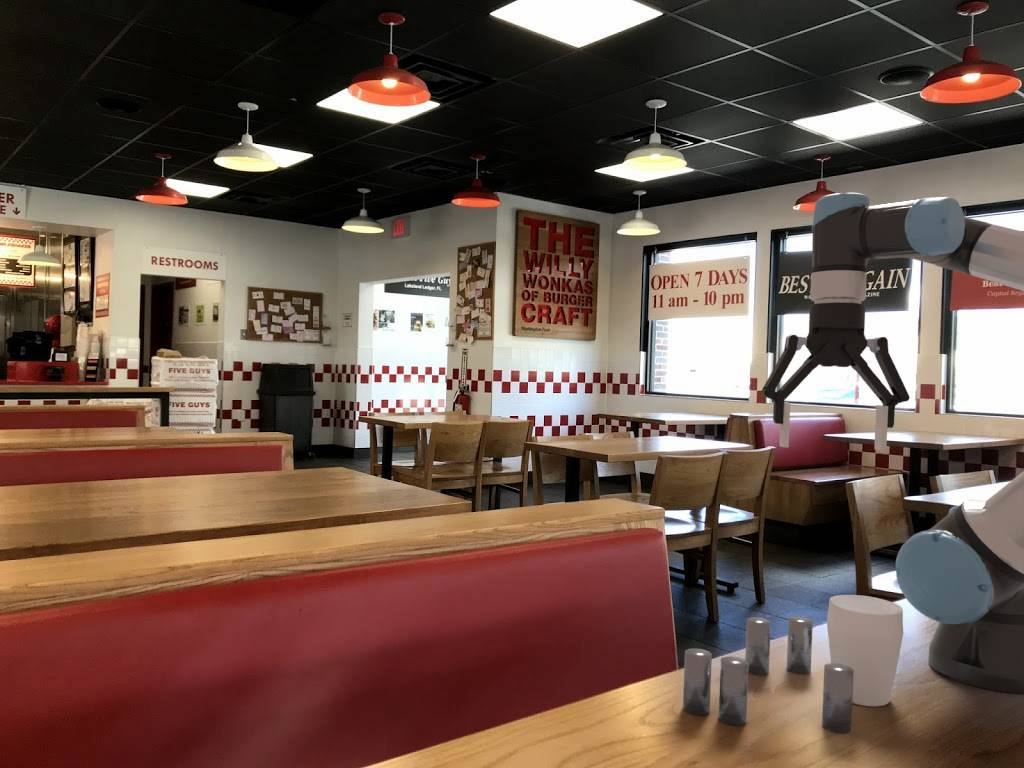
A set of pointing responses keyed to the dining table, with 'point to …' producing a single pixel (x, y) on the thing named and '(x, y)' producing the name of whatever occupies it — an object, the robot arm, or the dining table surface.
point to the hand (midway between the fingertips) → (831, 448)
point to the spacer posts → (757, 663)
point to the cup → (866, 644)
